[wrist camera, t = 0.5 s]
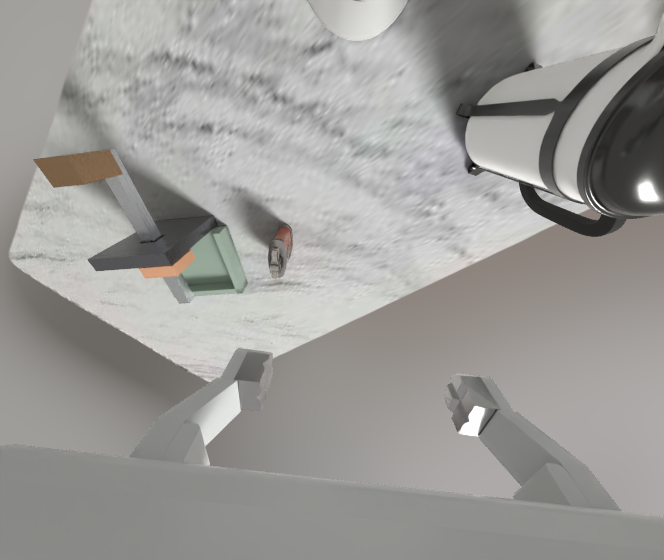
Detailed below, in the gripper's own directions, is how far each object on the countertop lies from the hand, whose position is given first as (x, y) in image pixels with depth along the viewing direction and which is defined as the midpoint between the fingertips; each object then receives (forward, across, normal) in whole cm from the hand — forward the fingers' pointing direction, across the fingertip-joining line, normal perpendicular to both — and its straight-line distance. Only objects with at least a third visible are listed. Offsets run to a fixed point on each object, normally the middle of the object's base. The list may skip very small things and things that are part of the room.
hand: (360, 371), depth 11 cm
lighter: (+40, +12, +9) cm, 43 cm away
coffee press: (+39, -23, -14) cm, 47 cm away
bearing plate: (+39, +32, +7) cm, 51 cm away
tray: (+40, +30, +15) cm, 52 cm away
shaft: (+30, +32, +7) cm, 44 cm away
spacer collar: (+33, +31, +12) cm, 47 cm away
